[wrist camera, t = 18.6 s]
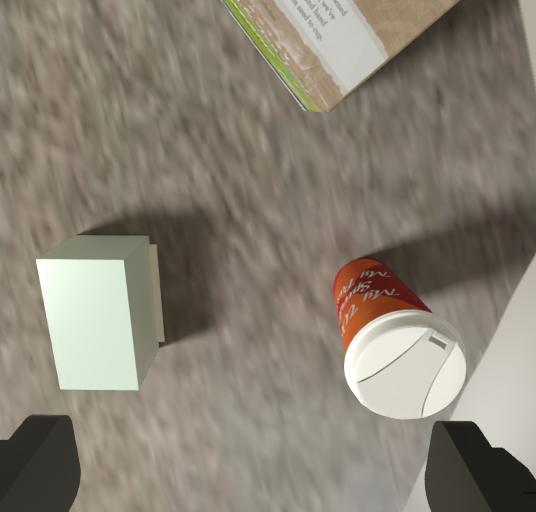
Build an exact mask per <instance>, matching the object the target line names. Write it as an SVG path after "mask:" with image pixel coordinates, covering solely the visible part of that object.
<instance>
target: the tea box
mask: <svg viewBox="0 0 536 512" xmlns="http://www.w3.org/2000/svg"><path fill="white" fill-rule="evenodd" d="M459 1H460V0H221V2H222V3H223V4H224V6H225V7H226V8H227V10H228V11H229V12H230V14H231V15H232V16H233V18H234V19H235V20H236V22H237V23H238V24H239V25H240V27H241V28H242V30H243V31H244V32H245V34H246V35H247V36H248V37H249V39H250V40H251V41H252V43H253V44H254V46H255V47H256V48H257V50H258V51H259V52H260V54H261V55H262V56H263V57H264V59H265V60H266V61H267V63H268V64H269V65H270V67H271V68H272V69H273V70H274V72H275V73H276V74H277V76H278V77H279V79H280V80H281V81H282V82H283V84H284V85H285V86H286V87H287V89H288V90H289V91H290V93H291V94H292V95H293V97H294V98H295V99H296V101H297V102H298V103H299V104H300V106H301V107H302V109H303V110H304V111H311V112H316V111H318V112H330V111H332V110H333V109H334V108H335V107H336V106H337V105H338V104H340V103H341V102H342V101H343V100H344V99H345V98H347V97H348V96H349V95H350V94H351V93H352V92H354V91H355V90H356V89H357V88H358V87H359V86H361V85H362V84H363V83H364V82H365V81H366V80H368V79H369V78H370V77H371V76H372V75H373V74H375V73H376V72H377V71H378V70H379V69H380V68H382V67H383V66H384V65H385V64H386V63H387V62H389V61H390V60H391V59H392V58H393V57H394V56H396V55H397V54H398V53H399V52H400V51H401V50H403V49H404V48H405V47H406V46H407V45H408V44H410V43H411V42H412V41H413V40H414V39H416V38H417V37H418V36H419V35H420V34H421V33H423V32H424V31H425V30H426V29H427V28H428V27H430V26H431V25H432V24H433V23H434V22H435V21H437V20H438V19H439V18H440V17H441V16H442V15H444V14H445V13H446V12H447V11H448V10H449V9H451V8H452V7H453V6H454V5H455V4H456V3H458V2H459Z"/></svg>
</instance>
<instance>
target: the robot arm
mask: <svg viewBox="0 0 536 512" xmlns="http://www.w3.org/2000/svg"><path fill="white" fill-rule="evenodd" d="M80 476H81V469H80V463H79V457H78V452H77V446H76V441H75V435H74V430H73V424H72V420H71V418H70V417H69V416H68V415H30V416H29V417H27V418H26V419H25V420H24V421H23V423H22V424H21V425H20V426H19V428H18V429H17V430H16V431H15V432H14V434H13V435H12V436H11V437H10V439H9V440H0V512H69V510H70V508H71V506H72V504H73V502H74V500H75V497H76V495H77V492H78V488H79V484H80ZM425 490H426V496H427V500H428V504H429V507H430V509H431V512H536V479H535V478H534V476H533V475H532V474H531V472H530V471H529V469H528V468H527V467H525V466H524V465H523V464H522V463H521V462H519V461H518V460H517V459H516V458H515V457H513V456H512V455H511V454H510V453H509V452H507V451H506V450H505V449H504V448H492V447H491V445H490V444H489V442H488V441H487V439H486V438H485V436H484V435H483V433H482V432H481V430H480V429H479V427H478V426H477V425H476V424H475V423H474V422H472V421H436V422H435V423H434V425H433V429H432V435H431V441H430V447H429V453H428V459H427V465H426V471H425Z"/></svg>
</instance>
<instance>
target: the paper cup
mask: <svg viewBox="0 0 536 512" xmlns="http://www.w3.org/2000/svg"><path fill="white" fill-rule="evenodd" d="M334 298H335V303H336V309H337V314H338V319H339V324H340V329H341V334H342V338H343V343H344V348H345V353H346V357H345V364H344V369H345V376H346V379H347V382H348V385H349V387H350V388H351V390H352V392H353V393H354V394H355V395H356V397H357V398H358V399H359V401H360V402H361V404H363V405H365V406H366V407H367V408H368V409H370V410H372V411H373V412H375V413H377V414H380V415H383V416H388V417H391V418H395V419H415V418H423V417H427V416H429V415H432V414H434V413H436V412H438V411H440V410H441V409H443V408H444V407H446V406H447V405H448V404H449V403H450V402H451V401H452V400H453V399H454V398H455V397H456V395H457V394H458V393H459V391H460V389H461V387H462V385H463V383H464V380H465V375H466V360H465V348H464V343H463V341H462V339H461V336H460V335H459V333H458V332H457V330H456V329H455V328H454V327H453V326H452V325H451V324H450V323H449V322H448V321H446V320H445V319H444V318H442V317H440V316H438V315H436V314H434V313H432V312H431V311H430V310H429V309H428V308H427V306H426V305H425V304H424V303H423V302H422V301H421V300H420V299H419V298H418V297H417V296H416V295H415V294H414V293H413V292H412V291H411V290H410V289H409V288H408V287H407V286H406V285H405V284H404V283H403V282H402V281H401V280H399V279H398V278H397V277H396V276H395V275H394V274H393V273H392V272H391V271H390V270H389V269H388V268H387V267H386V266H384V265H383V264H382V263H380V262H378V261H375V260H372V259H358V260H354V261H352V262H350V263H348V264H346V265H345V266H344V267H343V268H342V269H341V270H340V271H339V272H338V274H337V276H336V278H335V281H334Z"/></svg>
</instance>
